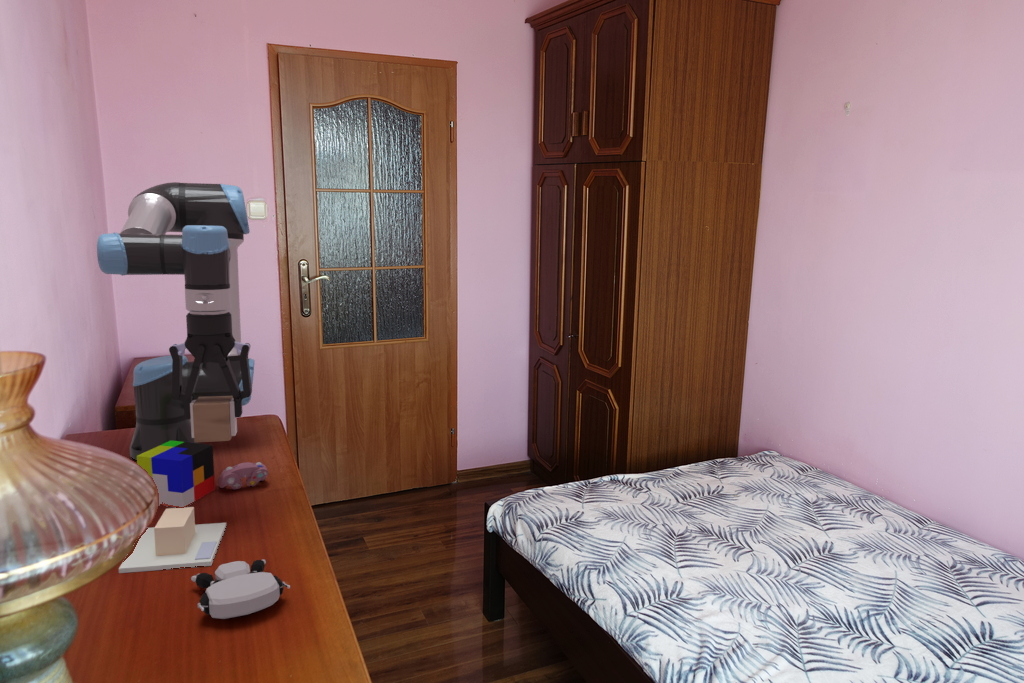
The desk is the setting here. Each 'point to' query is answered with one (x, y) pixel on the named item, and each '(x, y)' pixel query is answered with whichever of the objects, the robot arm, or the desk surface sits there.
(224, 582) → the robot toy
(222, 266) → the robot arm
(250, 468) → the video game controller
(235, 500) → the desk surface
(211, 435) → the walnut block
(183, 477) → the puzzle toy
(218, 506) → the desk surface
